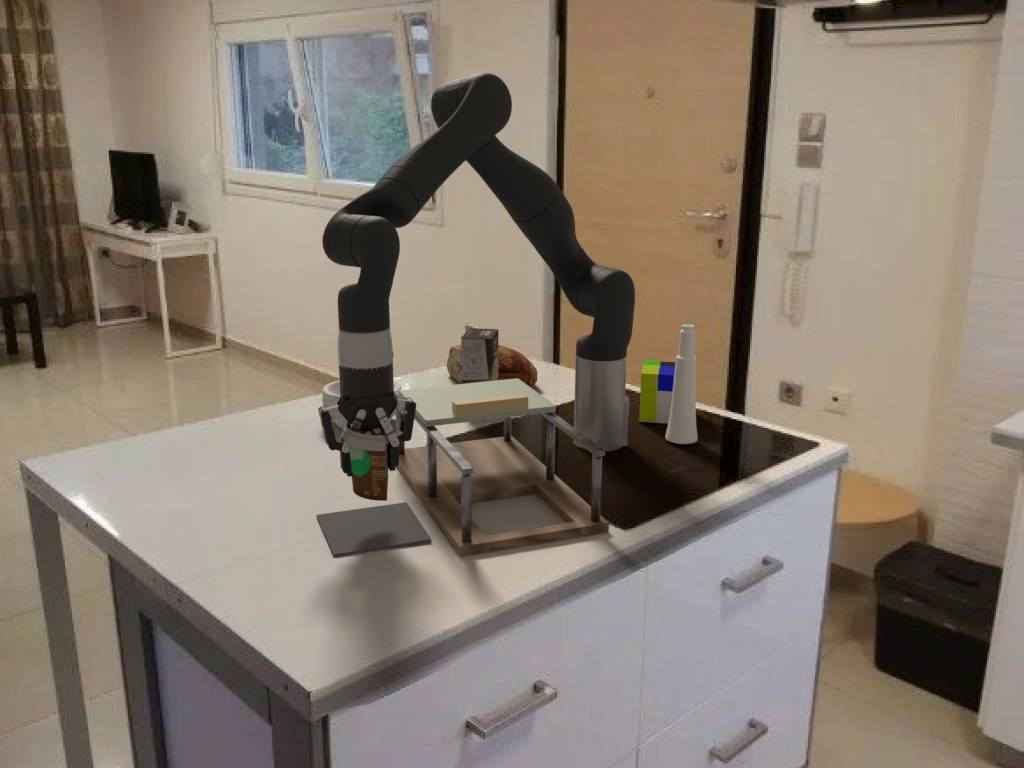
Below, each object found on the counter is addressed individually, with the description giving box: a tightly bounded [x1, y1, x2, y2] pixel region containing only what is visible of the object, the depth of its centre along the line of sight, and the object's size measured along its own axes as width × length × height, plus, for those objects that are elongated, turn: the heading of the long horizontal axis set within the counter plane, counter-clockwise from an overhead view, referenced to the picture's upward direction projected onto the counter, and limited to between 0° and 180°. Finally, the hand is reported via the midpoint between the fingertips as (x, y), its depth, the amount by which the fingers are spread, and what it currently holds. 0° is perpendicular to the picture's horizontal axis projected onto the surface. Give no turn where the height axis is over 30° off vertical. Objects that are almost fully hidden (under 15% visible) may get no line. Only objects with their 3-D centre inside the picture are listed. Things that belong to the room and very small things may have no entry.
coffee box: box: [460, 328, 499, 384], centre depth 193 cm, size 9×6×16 cm
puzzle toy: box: [638, 360, 676, 425], centre depth 190 cm, size 10×10×10 cm
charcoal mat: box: [316, 501, 432, 558], centre depth 139 cm, size 14×14×1 cm
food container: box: [342, 422, 389, 502], centre depth 135 cm, size 12×6×10 cm, turn 6°
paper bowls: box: [321, 380, 402, 430], centre depth 184 cm, size 15×15×8 cm
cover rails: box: [394, 391, 606, 543], centre depth 151 cm, size 21×39×11 cm, turn 21°
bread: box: [446, 344, 538, 388], centre depth 211 cm, size 20×18×10 cm
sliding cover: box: [399, 378, 557, 427], centre depth 155 cm, size 22×17×3 cm
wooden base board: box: [395, 435, 610, 558], centre depth 153 cm, size 23×40×2 cm, turn 21°
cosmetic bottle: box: [664, 323, 699, 445], centre depth 175 cm, size 6×6×22 cm
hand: (370, 471), depth 136 cm, fingers closed on food container, 5 cm apart
